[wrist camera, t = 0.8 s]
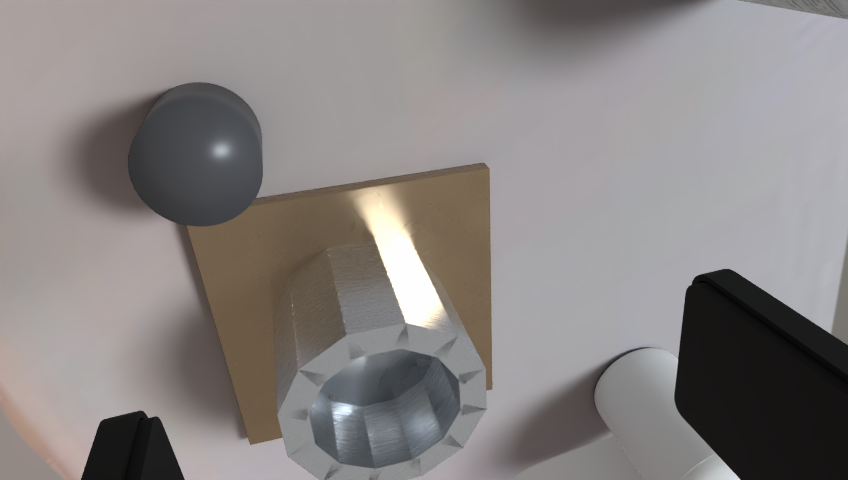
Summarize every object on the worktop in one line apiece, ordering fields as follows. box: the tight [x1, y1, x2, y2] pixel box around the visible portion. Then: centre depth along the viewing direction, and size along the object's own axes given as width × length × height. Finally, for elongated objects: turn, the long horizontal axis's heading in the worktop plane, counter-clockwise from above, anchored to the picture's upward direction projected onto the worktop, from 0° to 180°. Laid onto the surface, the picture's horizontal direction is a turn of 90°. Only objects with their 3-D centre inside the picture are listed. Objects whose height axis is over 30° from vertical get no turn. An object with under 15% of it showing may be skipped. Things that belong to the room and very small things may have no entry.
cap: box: [128, 82, 263, 227], centre depth 31 cm, size 6×6×5 cm
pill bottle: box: [594, 348, 740, 480], centre depth 44 cm, size 8×8×15 cm
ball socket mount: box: [187, 163, 492, 480], centre depth 36 cm, size 18×18×10 cm
